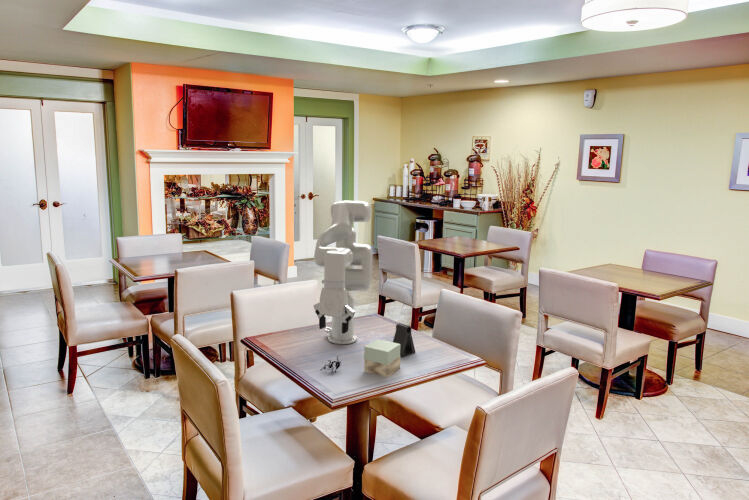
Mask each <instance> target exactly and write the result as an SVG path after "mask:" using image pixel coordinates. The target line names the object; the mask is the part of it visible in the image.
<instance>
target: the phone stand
mask: <svg viewBox="0 0 749 500" xmlns="http://www.w3.org/2000/svg"><path fill="white" fill-rule="evenodd" d="M392 342H394V343H398V344H400V356H401V357H400V358H403V357H407V356H409V355H413V354H415V353H416V349H415V343H414V340H413V336H412V327H411V326H409V325H408V324H407V325H406V324H404V323H400V322H398V323H396V325H395V333H394V336H393V340H392Z"/></svg>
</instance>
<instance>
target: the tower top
mask: <svg viewBox="0 0 749 500" xmlns="http://www.w3.org/2000/svg"><path fill="white" fill-rule="evenodd" d="M363 349H364V350H363V360H364V361H365V360H369V361H373V362H377V363H381V364H386V365H388V364H390V363H391V362H393V361H394V360H396V359H397V358H399V357H400V344H398V343H394V342H393V341H388V340H384V339H379V338H376V339H375V340H374V341H371V342H370V343H368V344H366V345H365V346H364V347H363ZM400 358H401V357H400Z"/></svg>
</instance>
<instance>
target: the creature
mask: <svg viewBox="0 0 749 500" xmlns="http://www.w3.org/2000/svg"><path fill="white" fill-rule="evenodd" d="M336 360H337V361H336ZM336 360H334V361H332V360H331V359H327V361H328V364H324V367H323V366H322V367H321V368H320V370H326V369H327V371H329V370H331V372H330V373H328V376H330V375H331V374H333V373H336V372H337V370H338V369H340V368H341V362H342V361H339V358H338V355H337V356H336ZM334 364H335V365H334ZM326 367H328V368H326ZM334 369H335V370H334ZM333 370H334V372H333Z"/></svg>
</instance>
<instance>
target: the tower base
mask: <svg viewBox="0 0 749 500" xmlns="http://www.w3.org/2000/svg"><path fill="white" fill-rule="evenodd" d="M401 358H402V357H401V356H400V357H399V358H397V359H396V360H394V361H393V362H391V363H390V364H388V365H386V364H381V363H377V362H373V361H369V360H365V359H364V361H363V362H364V367H363V370H364V372H365V373H366V372H367V373H369V374H374V375H378V376H381V377H385V378H389V377H390V376H392V375H393V374H394V373H396V372H397V371H399V370H400V369H401Z"/></svg>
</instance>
